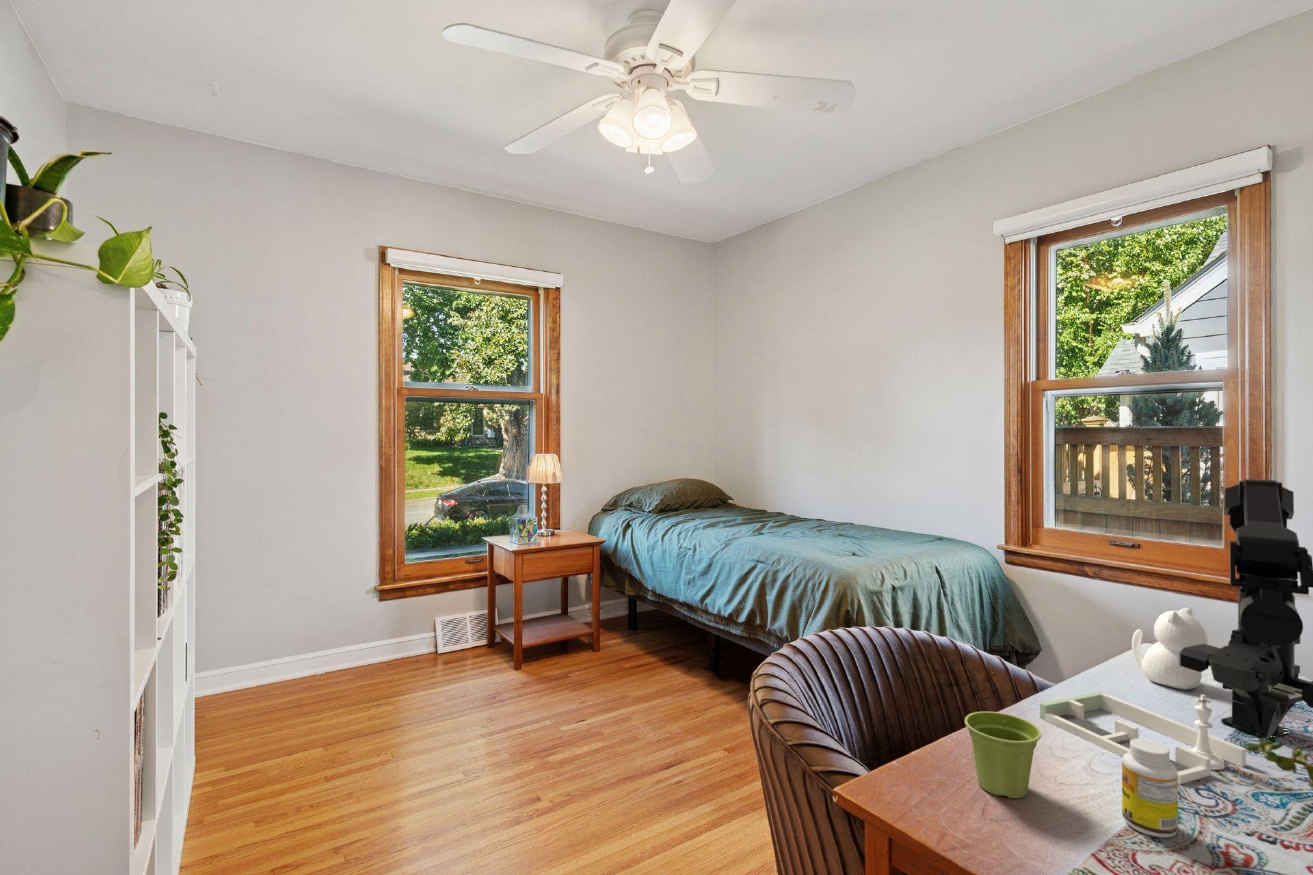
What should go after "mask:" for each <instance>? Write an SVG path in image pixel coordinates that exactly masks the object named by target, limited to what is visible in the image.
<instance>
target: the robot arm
mask: <svg viewBox="0 0 1313 875" xmlns="http://www.w3.org/2000/svg"><path fill="white" fill-rule="evenodd" d="M1294 497H1295V496H1294V491H1292V490H1290V489H1288V488H1286V487H1283V483H1282V481H1277V480H1273V479H1272V480H1271V479H1267V480H1266V479H1244V480H1238V484H1236V485H1232V486H1230V487H1226V488H1224V491H1223V516H1228V517H1229V518H1228V525H1229V527H1230V529H1231V530H1232V531H1233V532H1234V534H1235V535H1236V539H1235V540H1230V541H1229V581H1230V582H1229V583H1230V586H1232V587H1238V588H1239V589H1238V590H1237V591H1238V595H1237V596H1238V598H1237V600H1238V601H1237V602H1238V604H1237V612H1238V613H1237V629H1233V630H1231V633H1230V639H1229V641H1228V643H1227V645H1225V646H1222V647H1221V648H1220V647H1216V646H1213V645H1210V644H1208V643H1207V644H1200V645H1194V646H1189V647H1184V648H1183V649H1182V650H1181V652H1180V653H1179V665H1180V666H1182V667H1185V668H1188V669H1192V670H1195V671H1198V672H1201V673H1202V672H1205V671H1206V670H1207V669H1209V668H1210V672H1211V674H1212V679H1213V680H1214V681H1215V682H1217V683H1220V684H1222V689H1224V690H1231V691H1232V692H1231V716H1228V717H1223V718H1220V721H1221V723H1223V724H1226V725H1227V726H1230V727H1233V728H1236V729H1237V730H1238V729H1239V730H1242V731H1244V732H1247V733H1249V734H1252V733H1254V734H1258V736H1257V737H1259V738H1261V739H1264V738H1265V739H1264V740H1269V739H1272V738H1271V736H1272V737H1273V736H1277V737H1279V736H1280V735H1281V734H1283V733H1284V732H1288V731H1289V730H1288V731H1287V730H1283V729H1288V728H1287V727H1285V728H1283V727H1284V726H1282V725H1280V724H1281V722H1282V721H1283V719H1284V717H1286V715H1287V714H1288V712H1289V711H1290V710H1291V709H1292V708H1293V707H1294V706H1295V705H1296V703H1299V702H1305V704H1306V705H1307V706H1308V707H1309V708H1311V709H1313V680H1312V681H1309V680H1306V679H1303V678H1299V675H1300V673H1301V666H1300V665H1297V664H1295V647H1296V646H1295V645H1300V644H1301V635H1302V633H1303V630H1304V622H1303V620H1302V618H1301V616H1300V614H1299V611H1298V609H1297V608H1296V596H1295V595H1294V594H1298V595H1307V596H1309V593H1310V589H1309V588H1313V557H1312V555H1311V554H1309V553H1308V552H1309V551H1308V550H1309V549H1307V548H1306V546H1300V542H1299V538H1298V534H1297V532H1295V531H1294V530H1291V529H1289V528H1288V520H1292V519H1293V517H1294V515H1295V503H1294V502H1295V501H1294V500H1295V499H1294ZM1298 573H1299V574H1298ZM1236 574H1237V575H1238V577H1236ZM1298 578H1299V579H1298ZM1298 580H1300V581H1298ZM1299 582H1300V584H1299ZM1254 734H1253V735H1254ZM1281 736H1282V735H1281ZM1273 738H1274V737H1273Z"/></svg>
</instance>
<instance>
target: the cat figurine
mask: <svg viewBox="0 0 1313 875" xmlns="http://www.w3.org/2000/svg"><path fill="white" fill-rule="evenodd" d="M1153 626H1154V627H1153V634H1154V637H1155V640H1157V642H1154V643H1153V644H1152V646H1150V647H1149V648H1148V650H1147V651H1146V653H1145V654H1144V656H1143V655H1142V654H1143V653H1142V650H1141V644H1142V639H1143V634H1144V631H1143V630H1142V629H1141V628H1138V629H1136V630H1135V631H1134V633H1133V634H1132V639H1131V650H1132V654H1133V657H1134V660H1135V663H1136V664H1137V666H1138V667H1139V668H1140V669H1141V670H1142V671H1141V672H1142V673H1143V675H1144V676H1145V677H1146V679H1148V680H1149V681H1150V682H1153V683H1155V684H1158V685H1159V684H1160V685H1163V686H1166V687H1171V688H1173V689H1174V688H1175V689H1178V690H1184V691H1190V690H1193V689H1195V688H1197V687H1198V686H1199V685H1200V683H1201V682H1202V681H1201V680H1202V677H1203V676H1202V672H1198V671H1195V670H1192V669H1188V668H1185V667H1182V666H1180V665H1179V653H1180V652H1181V650H1182V649H1183V648H1184V647H1189V646H1194V645H1200V644H1207V645H1208V644H1209V642H1208V640H1209V639H1208V635H1207V632H1206V630H1205V628H1204V627H1203V625H1202V624H1201V623H1200V622H1199V621H1198V619H1196V618H1195V617H1194V614H1193V610H1192V608H1191V607H1184V608H1181V609H1179V610H1167V611H1165V612H1163V613H1162V614H1161V613H1160V615H1159V616H1158V618H1157V619H1156V621H1155V623H1154V625H1153Z"/></svg>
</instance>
